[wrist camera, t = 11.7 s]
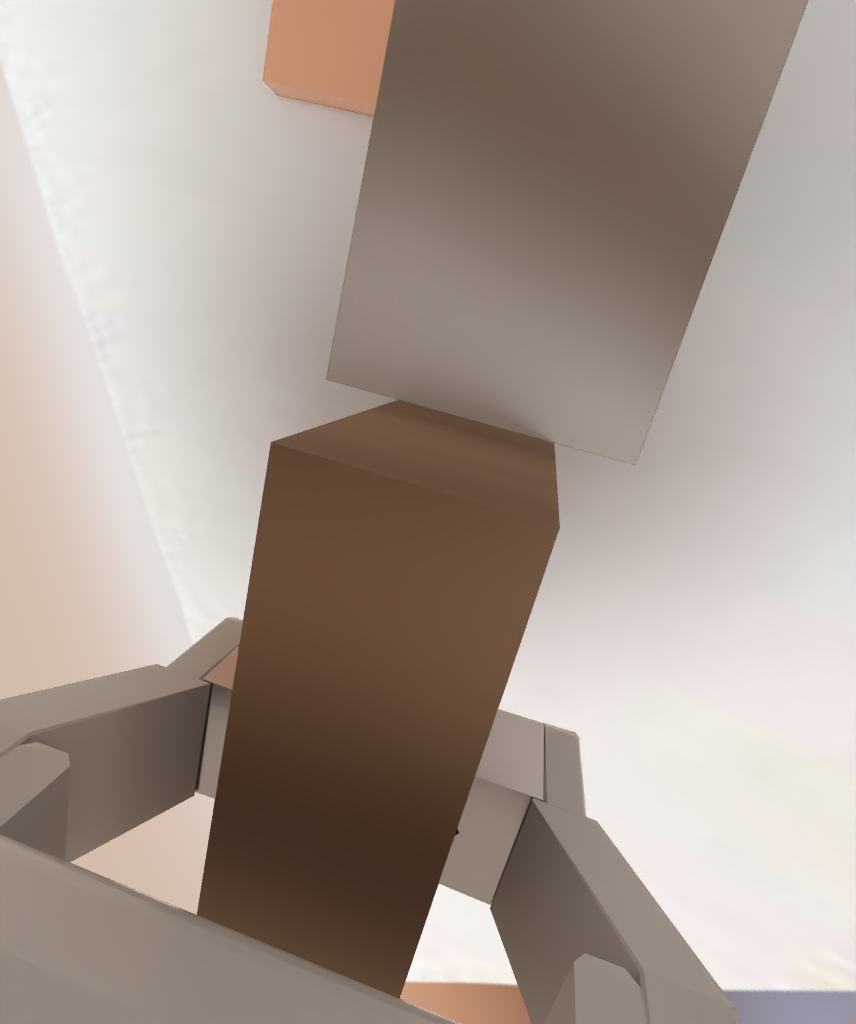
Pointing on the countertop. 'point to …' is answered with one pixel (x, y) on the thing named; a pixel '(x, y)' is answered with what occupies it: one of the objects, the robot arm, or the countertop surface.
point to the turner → (464, 429)
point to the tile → (328, 51)
